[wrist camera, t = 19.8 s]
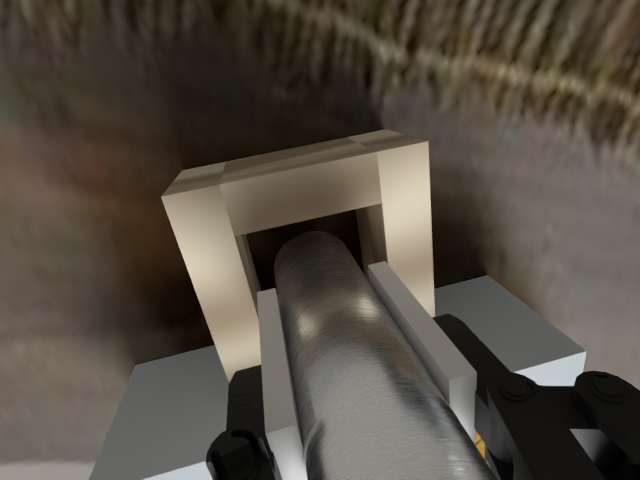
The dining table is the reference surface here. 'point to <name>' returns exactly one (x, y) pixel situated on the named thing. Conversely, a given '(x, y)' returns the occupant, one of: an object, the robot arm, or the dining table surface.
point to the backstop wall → (212, 385)
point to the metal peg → (361, 377)
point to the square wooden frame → (295, 206)
